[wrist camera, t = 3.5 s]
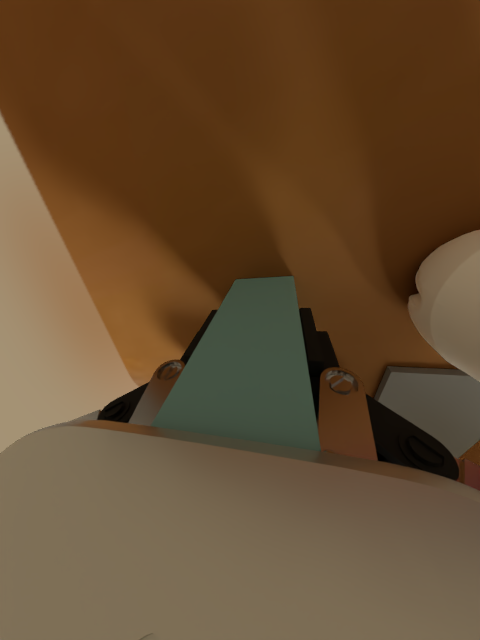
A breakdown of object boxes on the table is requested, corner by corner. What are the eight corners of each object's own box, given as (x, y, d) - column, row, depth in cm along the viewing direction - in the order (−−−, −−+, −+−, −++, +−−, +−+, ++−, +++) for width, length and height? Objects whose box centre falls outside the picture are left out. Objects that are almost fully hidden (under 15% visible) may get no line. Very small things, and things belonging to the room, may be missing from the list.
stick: (292, 325, 14) (335, 845, 3) (242, 325, 15) (119, 715, 4) (293, 275, 12) (508, 1624, 1) (235, 279, 13) (-102, 858, 2)
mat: (453, 452, 19) (457, 458, 18) (356, 439, 21) (358, 445, 20) (537, 373, 13) (548, 380, 12) (387, 366, 15) (391, 371, 14)
